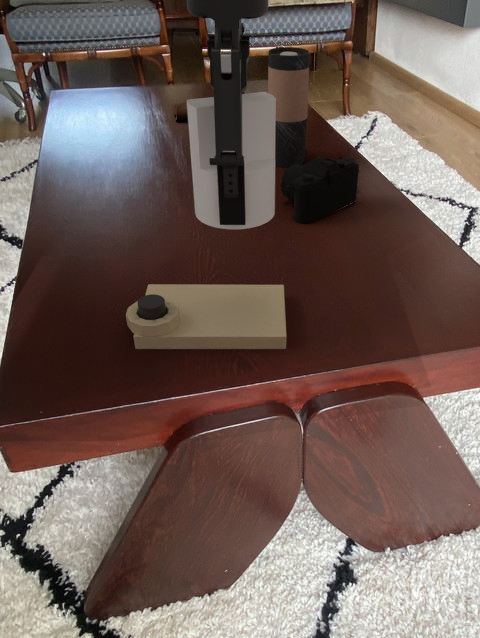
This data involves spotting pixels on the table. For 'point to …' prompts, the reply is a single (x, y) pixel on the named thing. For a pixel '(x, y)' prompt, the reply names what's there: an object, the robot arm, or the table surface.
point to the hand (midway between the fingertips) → (234, 204)
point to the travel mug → (289, 102)
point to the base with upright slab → (254, 149)
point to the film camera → (320, 187)
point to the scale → (213, 318)
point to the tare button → (151, 307)
